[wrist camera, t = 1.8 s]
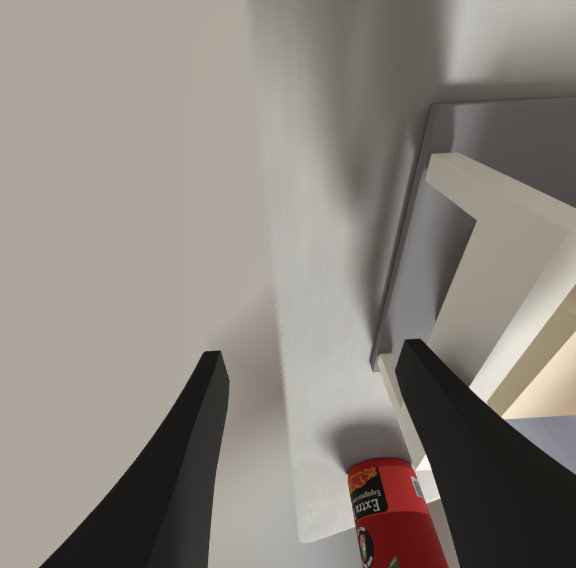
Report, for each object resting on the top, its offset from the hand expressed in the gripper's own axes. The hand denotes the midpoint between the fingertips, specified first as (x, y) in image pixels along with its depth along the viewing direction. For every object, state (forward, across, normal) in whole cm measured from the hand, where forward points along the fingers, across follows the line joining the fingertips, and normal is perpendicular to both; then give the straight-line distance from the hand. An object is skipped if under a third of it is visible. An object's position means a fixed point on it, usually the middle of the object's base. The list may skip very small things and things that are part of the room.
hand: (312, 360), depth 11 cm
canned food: (+5, -9, +29) cm, 31 cm away
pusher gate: (+5, -5, 0) cm, 7 cm away
